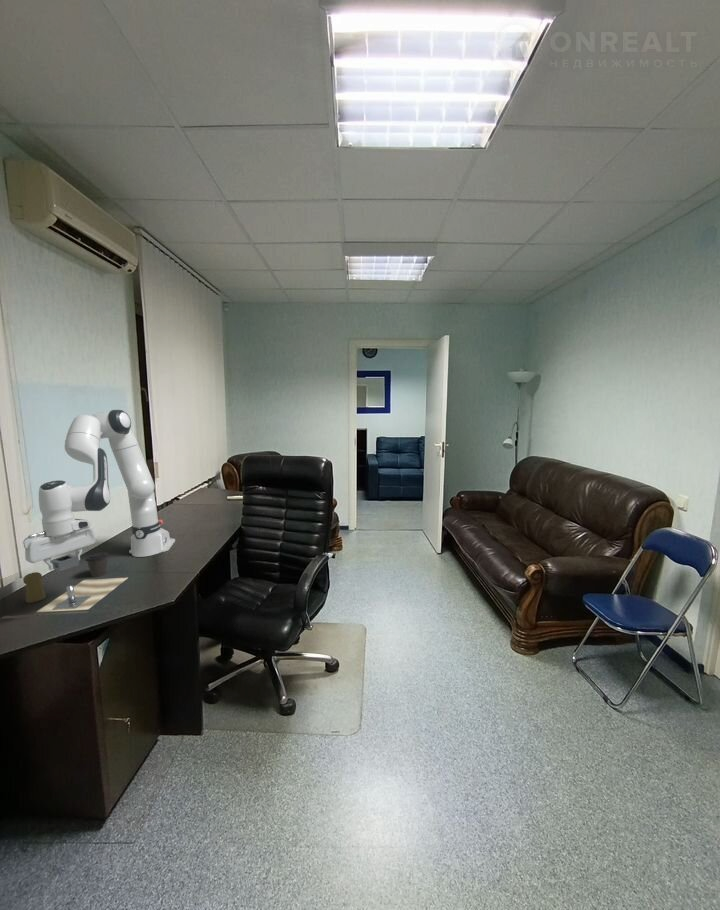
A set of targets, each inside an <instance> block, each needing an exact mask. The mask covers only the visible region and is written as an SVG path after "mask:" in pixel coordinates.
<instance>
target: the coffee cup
mask: <svg viewBox="0 0 720 910" xmlns="http://www.w3.org/2000/svg"><path fill="white" fill-rule="evenodd" d="M108 557H109V553H108V552H105V551H104V552H95V553H92V554H90V555H88V556H87V557H85V559H84V560H85V561H86V562H87V567H88V568H89V572H90V576H91V577H92V578H98V577H102V576H105V575H106V574H108Z"/></svg>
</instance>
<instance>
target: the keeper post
mask: <svg viewBox="0 0 720 910" xmlns="http://www.w3.org/2000/svg"><path fill="white" fill-rule="evenodd" d="M65 588H66V589H65V590H66V592H67V595H68V598H67V599H66V600H64V601H63V602H61V603H60V604H59V605H57V606H56V607H54V608H53V610H60V609H76V608H77V607H79V606H80V605H81V604H83V603H84V602H85V601H87V600H88V599H89V598H90V597H91V596H80V597H75V593H74V585H73V584H71V585H68V586H66V587H65Z"/></svg>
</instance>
